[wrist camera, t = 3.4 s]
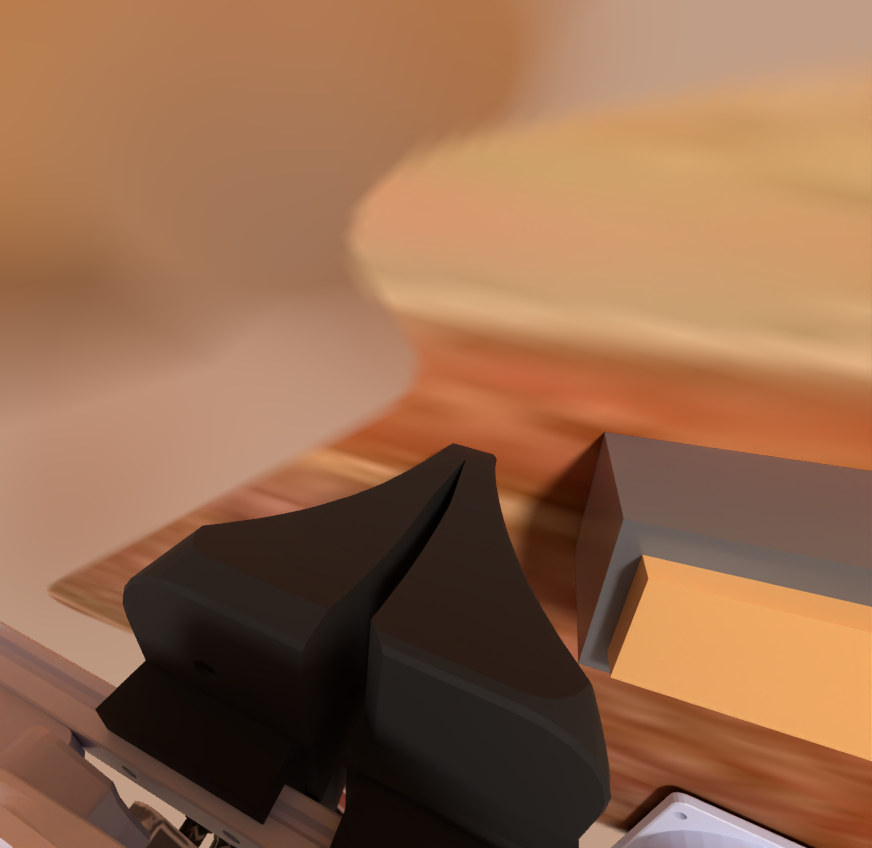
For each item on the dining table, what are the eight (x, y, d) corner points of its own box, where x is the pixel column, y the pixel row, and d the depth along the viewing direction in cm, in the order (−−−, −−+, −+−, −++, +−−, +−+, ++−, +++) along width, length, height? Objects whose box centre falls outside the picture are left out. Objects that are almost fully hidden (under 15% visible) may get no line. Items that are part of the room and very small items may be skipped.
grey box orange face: (833, 608, 10) (1001, 830, 6) (574, 547, 12) (579, 688, 8) (929, 476, 8) (1264, 679, 4) (604, 430, 10) (628, 540, 6)
